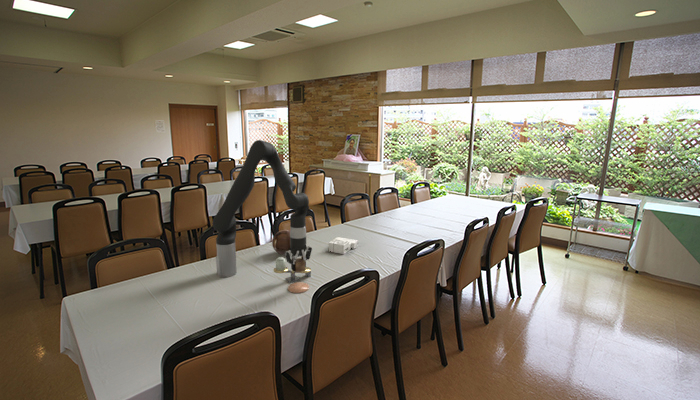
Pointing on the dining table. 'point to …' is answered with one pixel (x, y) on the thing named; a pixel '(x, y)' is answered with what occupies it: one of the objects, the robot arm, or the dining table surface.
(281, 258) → the grey cup
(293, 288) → the terracotta saucer
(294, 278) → the balance
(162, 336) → the dining table surface
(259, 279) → the dining table surface
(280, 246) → the wooden sphere
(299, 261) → the walnut block
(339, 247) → the house
